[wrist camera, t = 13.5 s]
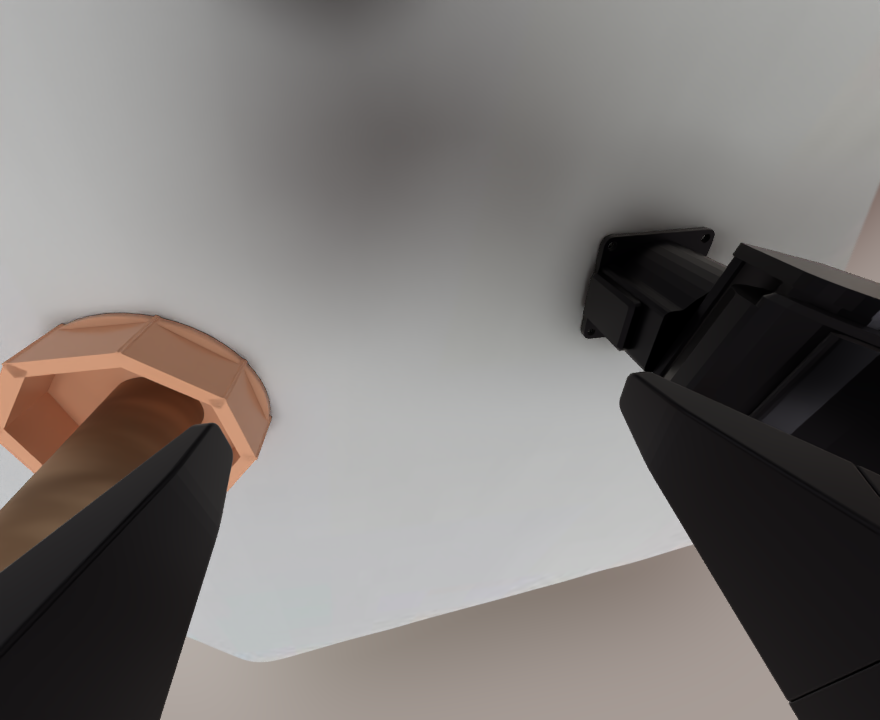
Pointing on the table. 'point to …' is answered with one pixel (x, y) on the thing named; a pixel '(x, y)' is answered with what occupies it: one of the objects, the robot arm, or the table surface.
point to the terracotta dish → (119, 359)
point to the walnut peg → (95, 460)
